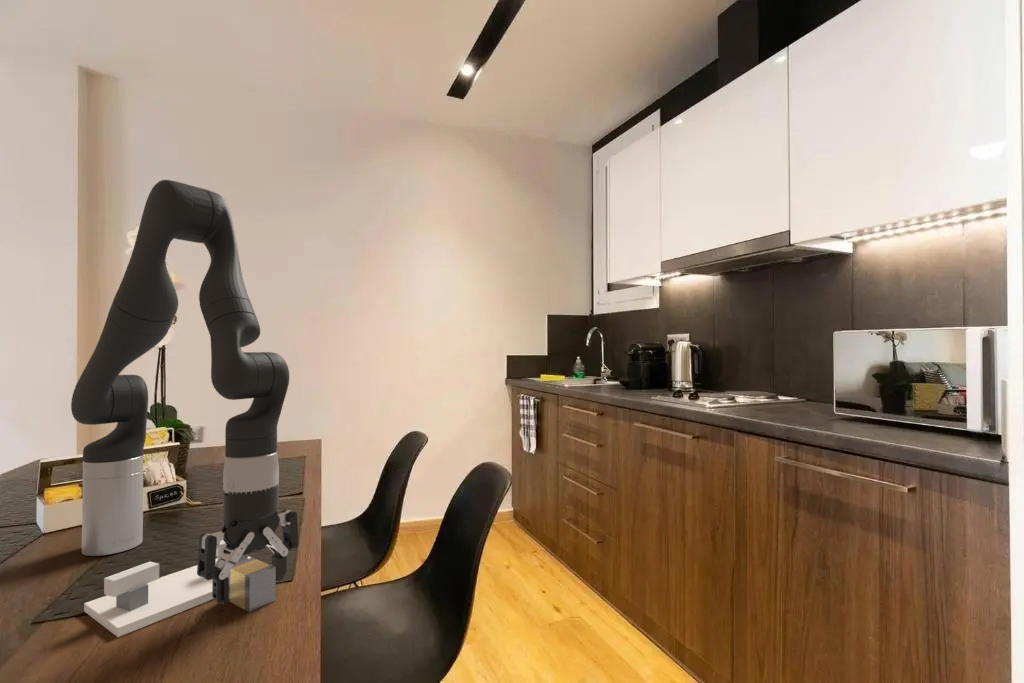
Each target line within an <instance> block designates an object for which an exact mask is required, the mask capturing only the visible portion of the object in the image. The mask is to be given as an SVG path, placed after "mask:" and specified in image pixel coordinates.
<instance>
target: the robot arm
mask: <svg viewBox="0 0 1024 683" xmlns="http://www.w3.org/2000/svg"><path fill="white" fill-rule="evenodd" d="M173 240H181V241H187V242H191V243H196V244H203V245H204V246H205V248H206V250H207V252H208V254H209V256H210V263H209V267H208V269H207V272H206V273H205V275H204V278H203V280H202V281H201V285H200V289H199V293H198V300H199V307H200V311H201V314H202V316H203V319H204V322H205V326H206V328H207V331H208V334H209V337H210V353H211V358H210V359H211V360H210V361H211V362H210V363H211V365H210V366H211V367H210V378H211V383H212V387H213V388H214V389H215V391H216V392H217V393H218V395H220V396H221V397H223V398H224V399H225V400H226V399H227V400H232V401H237V400H245V399H253V400H252V402H251V404H250V407H249V408H248V409H247V410H246V411H244V412H242V413H239V414H237V415H234V416H232V417H230V418H228V420H227V421H226V424H225V432H224V433H225V435H224V436H225V439H224V440H225V445H224V446H225V453H224V454H225V458H224V465H223V472H222V474H223V475H222V478H223V479H222V480H223V481H222V484H223V486H222V516H223V517H222V518H223V527H222V528H221V531H218V532H213V533H207V532H203V533H202V534H200V536H199V540H198V553H197V554H198V555H197V565H198V566H197V575H198V576H200V577H203V578H205V579H206V580H211V579H212V597H213V599H212V600H213V601H216V603H218V604H220V605H221V606H224V605H227V604H229V578H228V577H227V575H228V574H229V572H230V570H231V569H232V567H233V565H234V564H236V563H237V562H238V561H239V559H240V558H241V556H242V554H243V555H247V554H248V555H249V554H251V553H253V552H254V551H260V550H263V549H265V548H266V547H268V549H269V550H270V551H271V552H272V553H273V554H272V555H271V565H272V566H274V567H276V582H278V583H279V582H281V581H283V580H284V579H285V578H284V577H285V576H286V574H287V568H288V567H287V563H288V562H287V558H288V557H287V556H288V554H289V553H290V551H292V550H293V549H297V547H299V544H300V541H299V527H298V526H299V525H298V513H297V511H294V510H290V509H288V508H287V509H286V508H285V509H283V510H282V511H281V513H278V511H279V508H280V502H279V501H280V499H279V498H280V490H279V489H280V486H279V484H280V483H279V481H280V468H279V465H280V464H279V459H278V425H279V420H280V417H281V413H282V410H283V406H284V402H285V399H286V395H287V392H288V389H289V385H290V370H289V366H288V364H287V362H286V360H285V359H284V358H283V357H282V355H280V354H279V353H276V352H270V351H269V352H268V351H260V352H258V351H257V352H251V351H249V352H247V351H246V352H244V351H243V350H242V348H244V347H247V346H249V345H251V344H253V343H254V342H256V340H258V338H260V336H261V326H260V323H259V320H258V318H257V315H256V312H255V310H254V306H253V305H252V302H251V300H250V297H249V295H248V292H247V289H246V288H247V287H246V286H245V281H244V278H243V273H242V268H241V262H240V256H239V250H238V244H237V239H236V235H235V228H234V222H233V218H232V214H231V210H230V208H229V205H228V203H227V202H226V199H225V198H224V197H223V196H221V194H219V193H218V192H214V191H211V190H208V189H205V188H202V187H198V186H194V185H190V184H187V183H184V182H180V181H175V180H170V179H162V180H159V181H158V182H157V183H155V184H154V186H153V187H152V189H151V190H150V191H149V194H148V196H147V199H146V202H145V205H144V209H143V211H142V215H141V218H140V223H139V226H138V230H137V235H136V238H135V242H134V246H133V248H132V252H131V256H130V258H129V261H128V264H127V267H126V268H125V271H124V274H123V277H122V279H121V282H120V283H119V286H118V289H117V291H116V293H115V295H114V297H113V301H111V302H112V303H111V305H110V308H109V311H108V314H107V317H106V320H105V323H104V326H103V328H102V330H101V331H102V332H101V334H100V336H99V339H98V341H97V344H96V346H95V348H94V350H93V352H92V354H91V356H90V358H89V360H88V362H87V363H86V365H85V367H84V369H83V370H82V373H81V375H79V378H78V380H77V382H76V384H75V387H74V389H73V393H72V395H71V402H70V411H71V415H72V416H73V418H74V420H75V421H76V422H77V423H80V424H82V425H88V426H89V425H90V426H91V425H95V426H96V425H105V424H114V423H117V424H116V426H115V428H114V429H113V430H112V431H111V432H109V433H108V434H107V435H105V436H102V437H101V438H99V439H97V440H95V441H92V442H90V443H88V444H87V445H85V446H84V448H83V449H82V450H83V451H82V502H81V503H82V504H81V505H82V506H81V507H82V512H81V513H82V514H81V517H82V518H81V554H82V555H84V556H88V557H89V556H90V557H98V556H99V557H100V556H106V555H112V554H117V553H121V552H125V551H128V550H131V549H133V548H136V547H138V546H139V545H141V544H142V543H143V540H144V539H143V538H144V537H143V534H144V533H143V530H144V529H143V524H144V523H143V522H144V448H145V445H146V444H145V442H146V439H147V422H148V421H147V420H148V410H149V409H148V408H149V390H148V386H147V382H146V381H145V379H144V378H143V377H141V376H140V375H139V374H138V375H137V374H120V373H122V371H123V370H125V369H126V367H127V366H129V365H130V364H132V363H133V362H135V361H136V360H137V359H139V358H141V357H142V356H143V355H145V354H146V353H148V352H149V351H151V350H152V349H154V348H155V347H156V346H157V345H158V344H160V343H161V341H162V340H164V338H165V337H166V335H167V334H168V332H169V330H170V328H171V327H172V326H171V325H172V324H173V321H174V319H175V316H176V314H177V312H178V308H179V299H178V298H179V296H178V293H177V291H176V288H175V285H174V284H173V281H172V278H171V276H170V274H169V271H168V268H167V262H166V261H167V260H166V258H167V257H166V256H167V252H168V250H169V246H170V244H171V242H172V241H173ZM279 525H280V526H281V528H282V529H281V530H282V532H281V533H282V540H281V539H280V538H279V537H278V536H277V534H275V532H276V530H277V529H278V528H279ZM222 540H223V541H224V542H225V543H226V544H225V545H224V547H223V548H222V550H221V552H220V553H219V555H218V557H217V556H216V549H217V548H218V547H219V546H220V545H219V544H220V542H221V541H222ZM232 550H233V551H234V552H233V553H232V554H231V555H230V552H231V551H232ZM217 558H218V560H217V562H216V563H215V561H216V559H217Z"/></svg>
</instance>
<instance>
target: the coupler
mask: <svg viewBox="0 0 1024 683" xmlns="http://www.w3.org/2000/svg"><path fill="white" fill-rule="evenodd" d="M227 577H228V578H229V602H230V603H232V604H233V605H235V606H237V607H239V608H241V609H243V610H245V611H247V612H248V613H251V612H252V611H255V610H257V609H260V608H262V607H264V606H266V605H268V604H271V603H273V602H275V601H276V600H277V599H276V598H277V597H276V596H277V594H276V592H277V591H276V589H277V588H276V586H277V584H276V582H277V581H276V567H274V566H272V564H269V563H266V562H264V561H261V560H260V559H257V558H254V557H251V558H249V559H246V560H243V561H241V562H238V563H236V564H234V565H233V567H232V569H231V570H230V572H229V574H228V575H227ZM229 602H228V603H229Z"/></svg>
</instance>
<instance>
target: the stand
mask: <svg viewBox="0 0 1024 683" xmlns="http://www.w3.org/2000/svg"><path fill="white" fill-rule="evenodd" d="M225 544H226V543H225V542H224V541H223V540H222V541H221V542H220V544H219V545H220V546H219V547H218V548H217V549H216V561H215V563H216V562H217V560H218V555H219V553H220V552H221V550H222V548H223V547H224V545H225ZM233 552H234V551H233V550H232V551H231V552H230V555H231V554H232V553H233ZM249 558H252V557H251V556H249V554H247V555H243V554H242V556H241V558H240V559H239V561H238V562H241V561H243V560H246V559H249ZM238 562H237V563H238ZM197 566H198V564H197V565H193V566H191V567H187V568H185V569H182V570H179V571H178V570H177V571H176V572H172V573H170V574H167V575H166V574H165V575H164V576H161V577H160V563H159V562H153V561H148V562H145V563H142V564H139V565H136V566H134V567H131V568H129V569H125V570H123V571H119V572H118V573H115V574H112V575H110V576H106V577H104V578H103V582H104V583H103V585H104V586H103V594H104V595H105V596H101V597H98V598H95V599H92V600H90V601H87V602H84V604H83V609H84V610H83V611H84V613H86V614H87V615H88V616H89V617H91V618H92V619H94V620H95V622H98V623H99V625H101V626H103V627H104V628H105V629H107V630H108V631H109V632H111V633H112V634H113V635H114V636H116V637H117V638H120V637H122V636H124V635H128V634H130V633H132V632H134V631H137V630H139V629H142V628H144V627H146V626H150V625H152V624H154V623H155V624H156V623H157V622H159V621H162V620H165V619H167V618H170V617H172V616H174V615H177V614H180V613H182V612H185V611H186V610H189V609H192V608H195V607H197V606H200V605H202V604H204V603H207V602H210V601H212V600H214V599H213V597H212V579H211V580H206V579H205V578H203V577H200V576H198V575H197Z"/></svg>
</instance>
